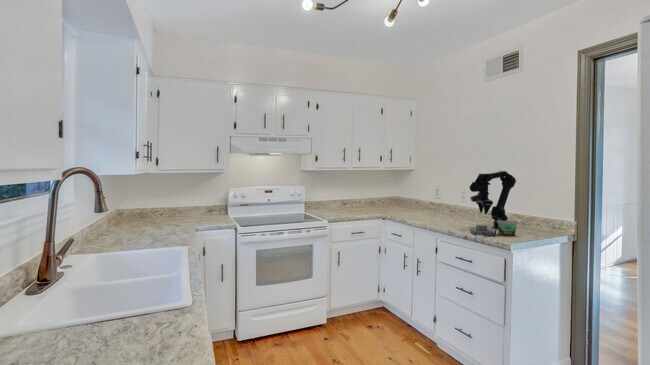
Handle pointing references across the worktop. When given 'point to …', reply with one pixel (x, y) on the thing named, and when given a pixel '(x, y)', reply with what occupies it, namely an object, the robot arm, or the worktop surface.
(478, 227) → the block
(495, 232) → the clip
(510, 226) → the food container
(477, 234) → the holder
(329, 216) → the worktop surface
